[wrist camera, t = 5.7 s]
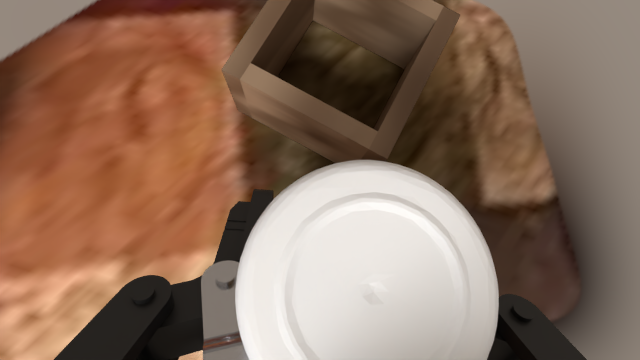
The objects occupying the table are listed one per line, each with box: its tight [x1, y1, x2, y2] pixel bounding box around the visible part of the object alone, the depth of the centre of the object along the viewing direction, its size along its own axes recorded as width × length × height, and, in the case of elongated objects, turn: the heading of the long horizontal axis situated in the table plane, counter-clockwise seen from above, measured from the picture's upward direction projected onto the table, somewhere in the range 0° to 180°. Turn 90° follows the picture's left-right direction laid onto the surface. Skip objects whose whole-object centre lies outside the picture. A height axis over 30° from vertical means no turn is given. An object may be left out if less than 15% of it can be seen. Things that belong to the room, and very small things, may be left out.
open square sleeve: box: [222, 0, 460, 163], centre depth 19 cm, size 9×9×5 cm
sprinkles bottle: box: [235, 160, 499, 360], centre depth 12 cm, size 5×5×14 cm
